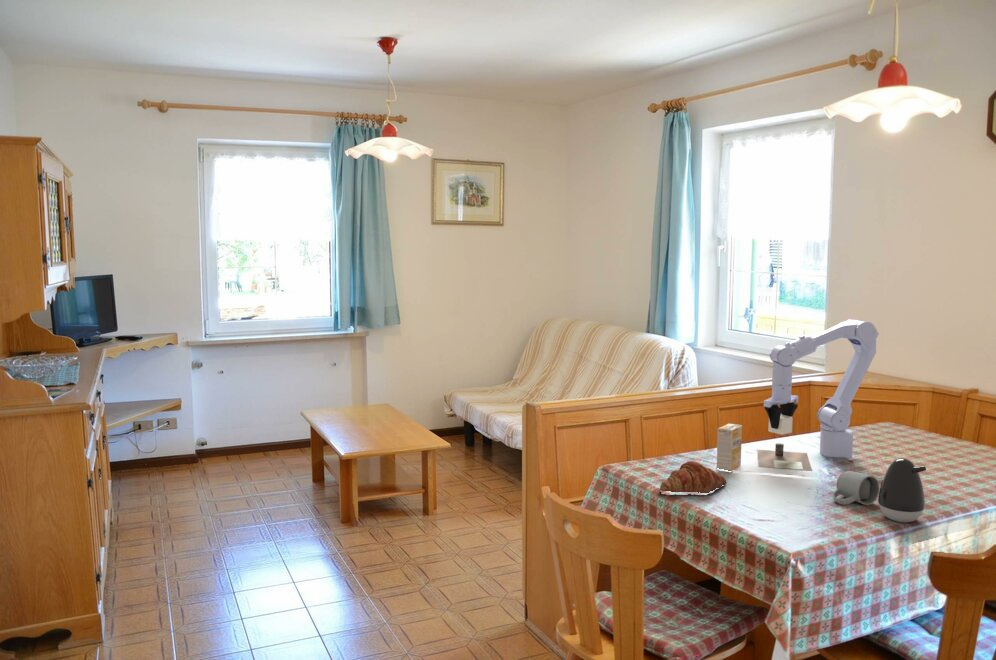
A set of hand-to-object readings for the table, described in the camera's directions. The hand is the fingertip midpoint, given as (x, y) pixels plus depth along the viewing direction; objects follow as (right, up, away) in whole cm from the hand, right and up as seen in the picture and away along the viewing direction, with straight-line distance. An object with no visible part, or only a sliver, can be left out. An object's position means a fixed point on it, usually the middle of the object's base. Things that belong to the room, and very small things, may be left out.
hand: (780, 427), depth 244 cm
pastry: (-35, -14, -30) cm, 48 cm away
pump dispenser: (+10, -16, -53) cm, 56 cm away
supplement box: (-19, -12, -10) cm, 25 cm away
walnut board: (-1, -10, -4) cm, 11 cm away
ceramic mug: (+5, -15, -40) cm, 43 cm away
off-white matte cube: (0, -2, 0) cm, 2 cm away
